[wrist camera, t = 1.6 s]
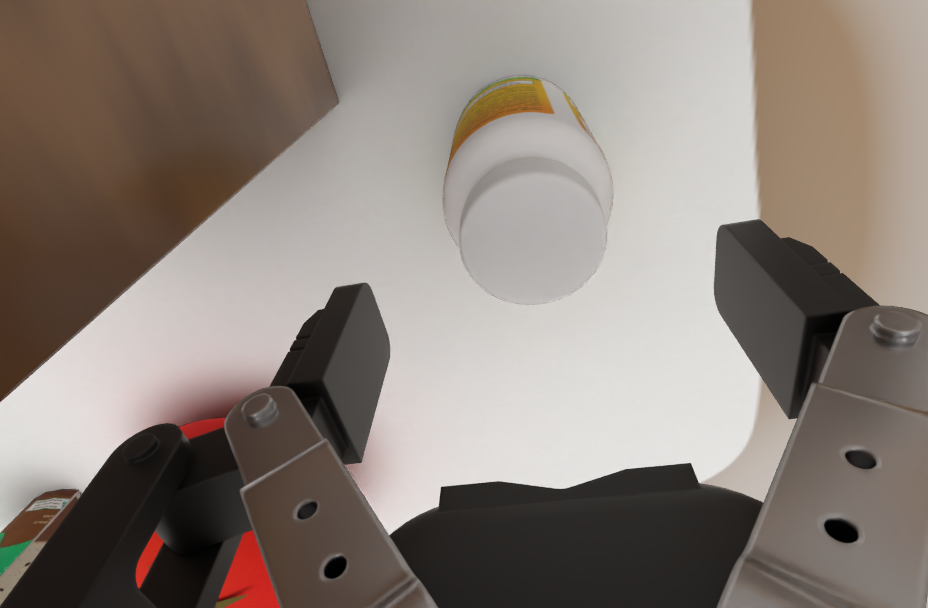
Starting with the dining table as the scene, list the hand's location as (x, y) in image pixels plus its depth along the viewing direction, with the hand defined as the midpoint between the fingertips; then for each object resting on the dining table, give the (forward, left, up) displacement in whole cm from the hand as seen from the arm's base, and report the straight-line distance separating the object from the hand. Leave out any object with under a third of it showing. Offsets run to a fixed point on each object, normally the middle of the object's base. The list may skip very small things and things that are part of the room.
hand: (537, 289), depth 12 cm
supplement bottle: (0, 0, -12) cm, 12 cm away
